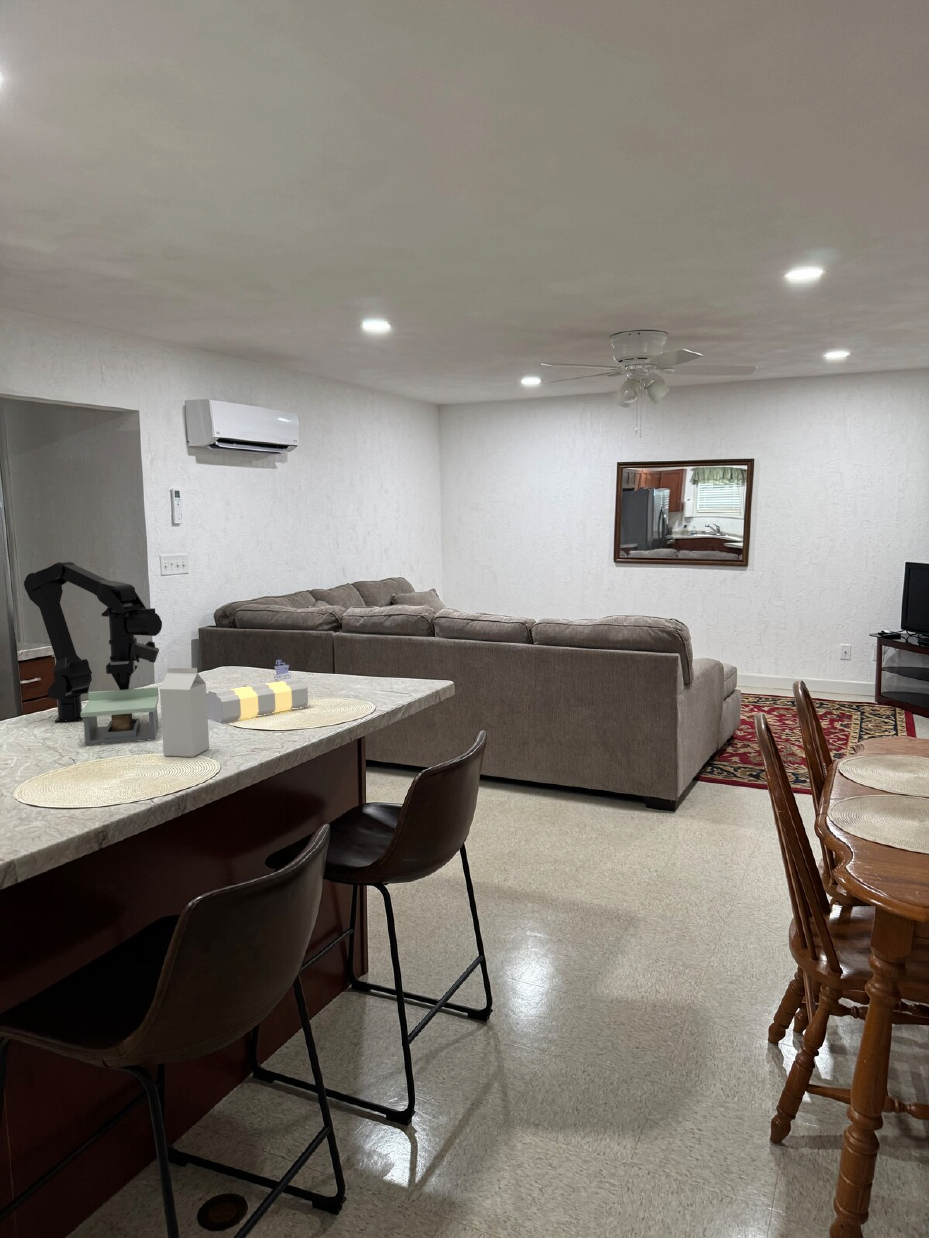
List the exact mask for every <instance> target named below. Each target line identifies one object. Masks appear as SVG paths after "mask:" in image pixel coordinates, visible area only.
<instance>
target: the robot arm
mask: <svg viewBox="0 0 929 1238" xmlns="http://www.w3.org/2000/svg"><path fill="white" fill-rule="evenodd" d="M67 583H70V584H72V585H75V586H77V587H78V588H81V589H83V590H85V591H87V592H88V593H91V594H93V595H94V596H95V597H96V598H97V599H98V601H99V602H100V603H102V604H103V605H104V606H106V609H105V610H104V611H103V612H102V613H101V616H102V617H104V618H105V617H107V618H108V625H109V626H108V628H109V630H108V631H109V640H108V645H110V656H109V662H108V663H107V664H106V665H105V673H106V674H108V675H110V674H111V676H112V678H113V680H114V681H115V683H116V685H117V687H118V690H125V689H130V686H131V685H130V684H131V679H132V675H133V674H134V673H135V672H136V670H137V668H138V665H136V664H135V663H140V662H141V659H142V660H145V661H148V662H149V663H156V661H157V658H158V655H159V652H160V648H159V647H156V643H155V641H151V640H148V641H147V642H146V643H145V644H144V643H140V642H138V639H137V637H136V636H147V637H155V636H156V637H157V636H158V635H159V634H160V633H161V631H162V627H163V621H162V620H161V617H160V615H159V614H158V613H156V608H155V607H152V608H151V607H150V608H147V607H146V605H145V604H144V603H143V601H142V600H141V597H139V595H138V593H137V592H136V588H135V586H133V585H132V584H130V583H125V582H122V581H117V580H115V581H114V580H110V579H106V578H103V577H102V576H99V575H98V574H96V573H94V572H91V571H89V570H87V569H85V568H82V567H80V566H79V565H76V564H75V563H74V562H72V561H58V562H55V563H54V564H51V565H50V566H48V567H46V568H42V569H41V570H39V571H36V572H30V573H28V574H27V575H26V577H25V578H24V581H23V586H24V590H25V592H26V593H27V596H28V598H29V600H30V601H31V602H33V604H35V605H36V607H38V608H39V611H40V614H41V616H42V619H43V623H44V627H45V629H46V633H47V635H48V639H49V642H50V645H51V648H52V651H53V654H54V657H55V665H54V669H53V677H54V681H53V682H52V684H51V685H50V686H49V688H48V689H47V690H46V693H47V696H48V698H49V699H52V700H56V704H57V705H56V706H57V717H56V718H55V720H54V723H61V722H75V721H78V722H79V721H84V717H81V712H82V710H83V707H82V695H84V694H88V692H89V690H90V685H91V682H92V674H93V672H92V670H91V667H90V665H89V664H90V663H89V661H88V659H87V658H84V659H82V658H81V657H80V656H79V655H77V652H76V650H75V646H74V642H73V640H72V639H73V638H72V637H71V636H72V635H71V633H70V631H69V626H68V624H67V621H66V617H65V614H64V611H63V609H62V605H61V600H62V596H63V586H64V585H66V584H67Z"/></svg>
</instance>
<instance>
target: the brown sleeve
mask: <svg viewBox="0 0 929 1238" xmlns="http://www.w3.org/2000/svg"><path fill="white" fill-rule="evenodd" d="M110 716H111V720H112V732H114V731H126V730H131V728H130V714H117V715H110Z"/></svg>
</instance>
